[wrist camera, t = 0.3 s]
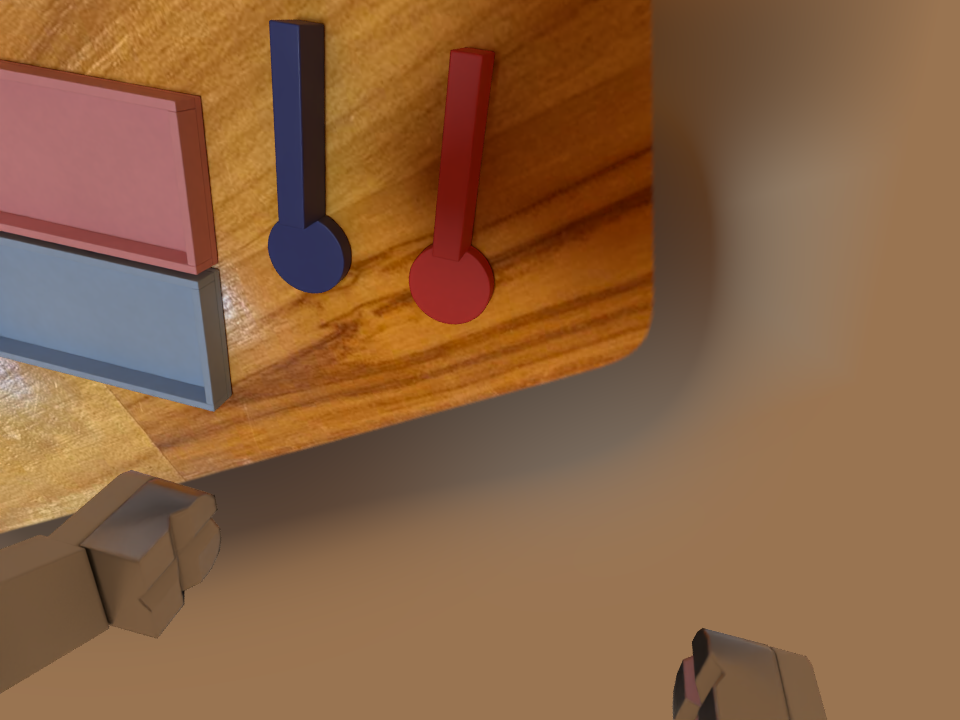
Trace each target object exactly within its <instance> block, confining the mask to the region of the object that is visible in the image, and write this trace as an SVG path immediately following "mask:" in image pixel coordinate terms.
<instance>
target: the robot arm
mask: <svg viewBox="0 0 960 720" xmlns="http://www.w3.org/2000/svg"><path fill="white" fill-rule="evenodd" d="M216 511H217V504H216V499H215V496H214V495H212V494H209V493H206V492H203V491H200V490H196V489H193V488H190V487H187V486H183V485H180V484H177V483H174V482H170V481H167V480H164V479H161V478H157V477H153V476H150V475H147V474H143V473H140V472H136V471H133V470H130V471H128V472H125V473H122V474H120V475H119V476H117V477H116V478H115V479H114V480H113V481H112V482H110V483H109V484H108V485H107V486H106V487H105V488H104V489H102V490H101V491H100V492H99V493H98V494H97V495H95V496H94V497H93V498H92V499H91V500H90V501H89V502H87V503H86V504H85V505H84V506H83V507H82V508H80V509H79V510H78V511H77V512H76V513H75V514H74V515H72V516H71V517H70V518H69V519H68V520H67V521H65V522H64V523H63V524H62V525H61V526H60V527H59V528H57V529H56V530H55V531H54V532H53V533H52V534H50V535H49V536H48V537H46V536H42V535H38V536H35V537H32V538H30V539H27V540H24V541H22V542H19V543H16V544H14V545H11V546H8V547H5V548H3V549H0V693H2V692H4V691H5V690H7V689H9V688H10V687H12V686H14V685H15V684H17V683H19V682H20V681H22V680H24V679H25V678H27V677H29V676H30V675H32V674H34V673H36V672H37V671H39V670H40V669H42V668H44V667H46V666H47V665H49V664H51V663H52V662H54V661H56V660H57V659H59V658H61V657H62V656H64V655H66V654H67V653H69V652H70V651H72V650H74V649H76V648H77V647H79V646H81V645H82V644H84V643H86V642H87V641H89V640H91V639H92V638H94V637H96V636H97V635H99V634H101V633H102V632H104V631H106V630H107V629H109V625H111V626H114V627H118V628H121V629H125V630H129V631H132V632H136V633H139V634H143V635H147V636H150V637H154V638H158V637H159V636H160V634H161V633H162V632H163V631H164V629H165V628H166V627H167V626H168V624H169V623H170V622H171V621H172V619H173V618H174V617H175V615H176V614H177V613H178V612H179V610H180V609H181V608H182V607H183V605H184V591H185V590H187V589H189V588H191V587H193V586H195V585H197V584H199V583H201V582H202V581H203V579H204V578H205V577H206V576H207V574H208V573H209V572H210V570H211V569H212V567H213V565H214V562H215V560H216V558H217V556H218V554H219V551H220V544H221V533H220V528H219V527H218V525H217V524H216V523H215V522H214V520H213V519H212V518H211V517H212V516H213V514H214V513H215V512H216ZM692 648H693V656H691V657H688V658H686V659H684V660H683V661H682V664H681V666H680V668H679V671H678V673H677V676H676V681H675V686H674V691H673V692H674V693H673V720H827V718H826V714H825V710H824V707H823V703H822V700H821V696H820V692H819V688H818V685H817V681H816V678H815V674H814V671H813V667H812V664H811V662H810V661H809V660H808V658H807V657H806V656H803V655H800V654H796V653H792V652H789V651H785V650H781V649H778V648H774V647H769V646H768V645H765V644H762V643H758V642H754V641H750V640H746V639H743V638H739V637H735V636H731V635H727V634H724V633H719V632H716V631H712V630H708V629H704V628H702V629H701V630H699V631H698V632H697V633H696V635H695V637H694V639H693V641H692Z"/></svg>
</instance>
